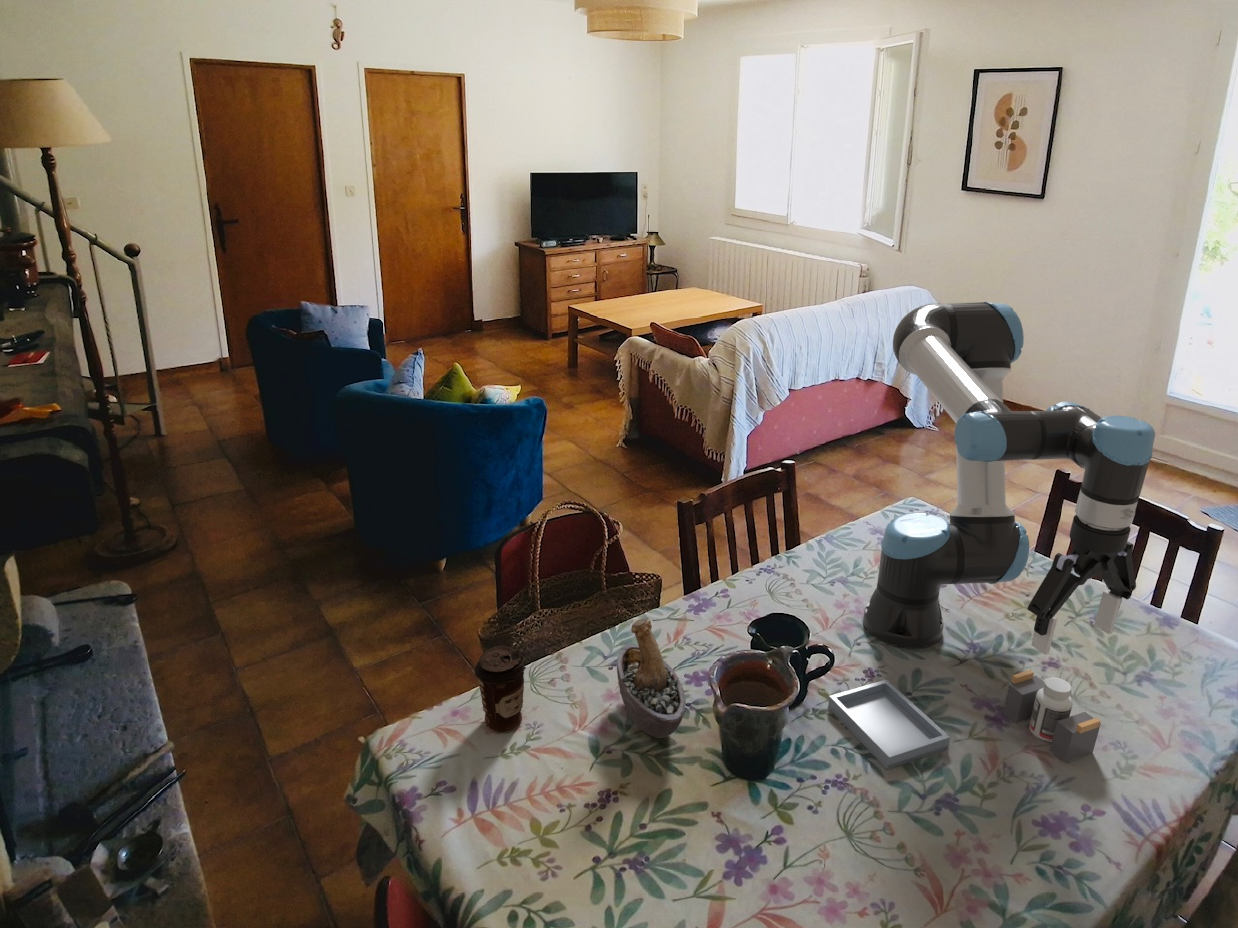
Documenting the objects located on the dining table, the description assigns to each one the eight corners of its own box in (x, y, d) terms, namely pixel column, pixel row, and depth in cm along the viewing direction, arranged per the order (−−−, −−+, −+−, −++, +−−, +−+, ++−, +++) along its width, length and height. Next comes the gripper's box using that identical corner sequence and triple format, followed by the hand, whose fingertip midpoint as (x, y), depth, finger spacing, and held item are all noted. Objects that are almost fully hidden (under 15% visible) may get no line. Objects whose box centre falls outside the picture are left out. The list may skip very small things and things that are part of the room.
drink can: (539, 713, 146) (535, 650, 140) (514, 744, 139) (509, 679, 134) (496, 699, 149) (491, 638, 144) (469, 728, 142) (463, 665, 137)
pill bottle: (1070, 735, 140) (1083, 687, 136) (1052, 747, 137) (1064, 699, 133) (1040, 717, 144) (1051, 670, 140) (1021, 729, 141) (1032, 681, 137)
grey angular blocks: (1000, 710, 146) (1007, 676, 143) (1026, 702, 148) (1034, 668, 145) (1067, 764, 134) (1077, 728, 131) (1095, 754, 136) (1105, 719, 133)
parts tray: (828, 707, 147) (829, 695, 146) (884, 690, 151) (886, 679, 150) (887, 769, 133) (889, 757, 132) (947, 749, 137) (950, 736, 136)
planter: (628, 680, 154) (627, 586, 146) (712, 710, 146) (716, 612, 138) (584, 728, 142) (582, 629, 134) (673, 764, 134) (676, 660, 126)
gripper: (1061, 548, 117) (1031, 672, 126) (1184, 515, 126) (1149, 633, 134) (1018, 524, 123) (993, 644, 132) (1138, 495, 132) (1107, 609, 141)
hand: (1071, 639), depth 133 cm, fingers open, 13 cm apart
